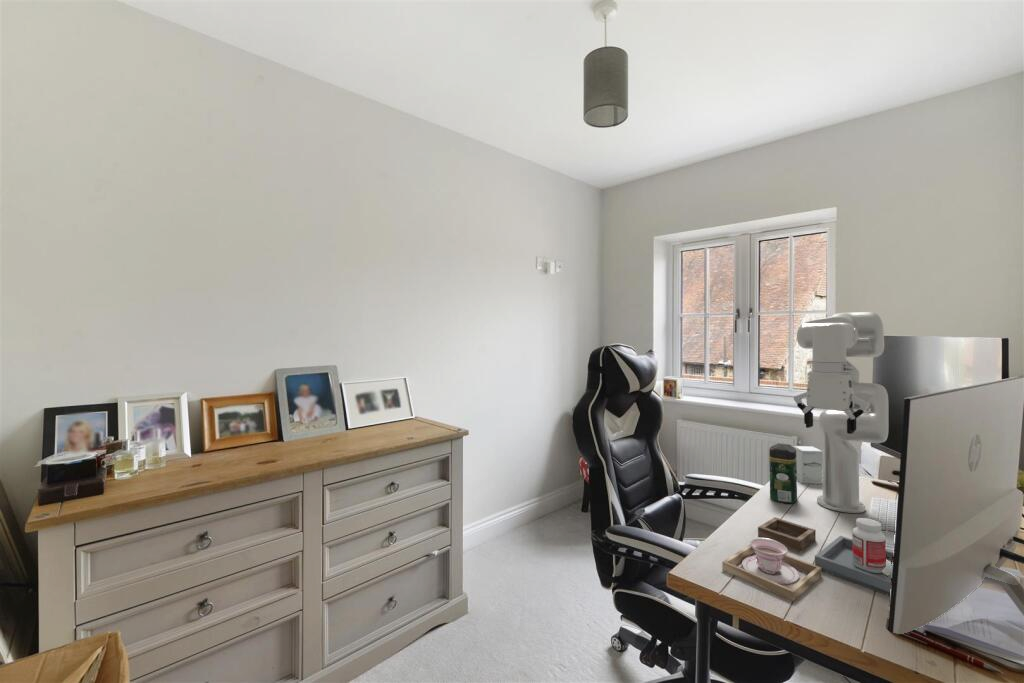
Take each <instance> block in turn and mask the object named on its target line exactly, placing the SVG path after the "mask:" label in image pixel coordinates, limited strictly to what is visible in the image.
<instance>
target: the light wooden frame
mask: <svg viewBox="0 0 1024 683" xmlns="http://www.w3.org/2000/svg"><path fill="white" fill-rule="evenodd" d="M753 554H755V552H754V549H753V548H752V547H751V544H748V545H747V546H745V547H744V548H742V549H740V550H739V551H737V552H736V553H734V554H731V556H729V557H727V558H726V559H725V560H722V564H721V566H722V571H724V572H726V573H729V574H731V575H733V576H736V577H737V578H740V579H742V580H745V581H747V582H749V583H751V584H753V585H756V586H758V587H760V588H763V589H765V590H766V591H770V592H771V593H774V594H776V595H778V596H781V597H783V598H785V599H787V600H789V601H792V602H794V601H796V600H797V599H798V598H799V597H800V596H801V595H802V594H804V592H806V591H807V590H808V589H809V588H810V587H812V585H814V584H815V583H816V582H817V581H818V580H819V579H820V578H821V577H823V576H822V575H823V574H822V573H823V571H822V568H821V567H818V566H816V565H815V564H812V563H810V562H807V561H804V560H802V559H799V558H795V557H794V556H791V555H788V554H786V555H785V556H784V559H782V561H783V562H785V563H787V564H789V565H791V566H792V567H793V568H795V569H796V570H797V569H798V570H801V571H803V572H806V573H807V575H805V576H804V577H803V578H802V579H801V580H799V581H798V583H797V582H796V584H795V585H794V586H792V588H789V587H787V586H784V585H783V584H778V583H775V582H773V581H771V580H768V579H766V578H764V577H761V576H759V575H756V574H754V573H752V572H749V571H747V570H745V569H744V568H743V567H739V566H737V564H740V563H742V561H743V560H744V559H745V558H747V557H750V556H752V555H753Z"/></svg>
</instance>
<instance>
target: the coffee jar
mask: <svg viewBox="0 0 1024 683" xmlns="http://www.w3.org/2000/svg"><path fill="white" fill-rule="evenodd" d="M796 452H797V451H796V449H795V448H794V447H793V445H791V444H788V443H787V444H786V443H776V444H773V445H771V446H770V448H769V453H768V460H769V461H768V462H769V497H770V499H771V500H773V501H774V502H775V501H776V502H778V503H781V504H794V503H796V501H797V499H798V484H797V483H798V481H797V462H796Z"/></svg>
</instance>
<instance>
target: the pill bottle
mask: <svg viewBox="0 0 1024 683" xmlns="http://www.w3.org/2000/svg"><path fill="white" fill-rule="evenodd" d="M855 525H856V527H853V529H852V534H851V535H852V536H851V537H852V538H851V539H852V540H853V563H854V565H855V566H856V567H858V568H860V569H862V570H864V571H867V572H871V573H882V570H883V569H884V568H885V567H886V550H887V549H886V546H887V545H886V544H887V543H886V541H887V540H886V536H885V534H884V533H883V532H882V523H881V522H880V521H877V520H875V519H871V518H868V517H867V518H866V517H858V518H856V520H855Z"/></svg>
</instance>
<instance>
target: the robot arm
mask: <svg viewBox="0 0 1024 683" xmlns="http://www.w3.org/2000/svg"><path fill="white" fill-rule="evenodd" d="M796 341H797V343H798V346H800V347H801V348H802V349H807V350H808V349H811V350H812V371H811V372H809V376H808V381H807V386H806V391H805V392H804V393H800V394H798V395H796V396H793V401H794V402H795V404H796V406H797V408H799V410H801V412H802V414H804V415H803V417H804V418H803V419H804V420H803V421H804V422H803V423H804V424H805V428H807V429H809V428H811V427H813V426H814V412H812V411H813V410H815V409H820V410H824V411H822V412H821V413H820V415H819V417H818V424H819V430H820V436H821V441H822V442H821V443H822V444H821V448H822V449H821V451H822V454H823V465H822V466H823V468H822V469H823V483H822V495H819V496H817V497H816V502H817V503H818V504H819V505H820V506H822V507H823V508H826V509H829V510H833V511H835V512H842V513H847V514H861V513H863V512H865V511H866V505H865V504H864V503H862V502H861V501H860V456H859V452H858V450H857V449H856V447H855V446H854V445H853V444H852V443H851V442H853V441H856V442H863V443H864V442H865V443H873V444H881V443H885V442H886V441H887V440H888V436H889V424H890V423H889V410H890V409H889V406H890V405H889V394H888V391H887V389H886V388H885V387H884V386H883V385H881V384H880V383H879V384H878V383H875V382H874V383H873V382H872V383H871V382H860V372H859V369H857V367H855V365H853V363H851V362H850V361H849V360H847V358H878V357H880V356H882V355H883V353H884V350H885V333H884V324H883V321H882V319H881V316H880V315H879V314H878V313H876V312H874V311H859V312H858V311H857V312H856V311H854V312H839V313H838V312H837V313H834V314H833V315H831V316H829V317H823V318H818V319H813V320H808V321H807V320H806V321H804V322H802V323H801V324H800V325H799V327H798V329H797V332H796ZM805 398H806V404H804V402H803V400H802V399H805Z"/></svg>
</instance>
